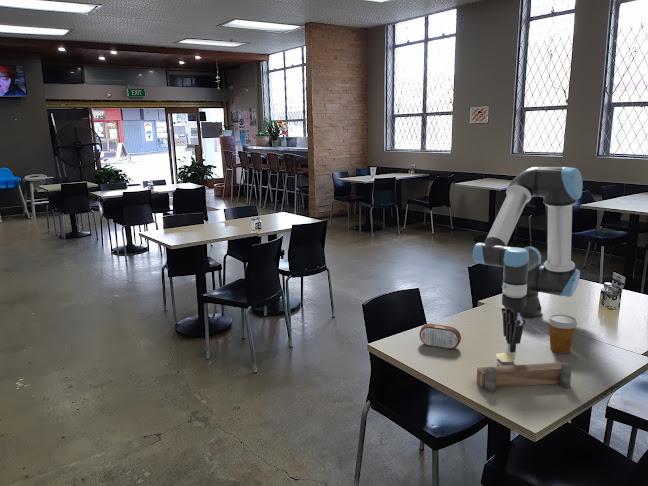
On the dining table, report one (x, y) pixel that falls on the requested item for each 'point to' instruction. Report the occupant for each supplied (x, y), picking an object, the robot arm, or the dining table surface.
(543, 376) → the bar
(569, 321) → the disposable coffee cup
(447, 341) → the tin
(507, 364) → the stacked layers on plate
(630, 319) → the dining table surface
